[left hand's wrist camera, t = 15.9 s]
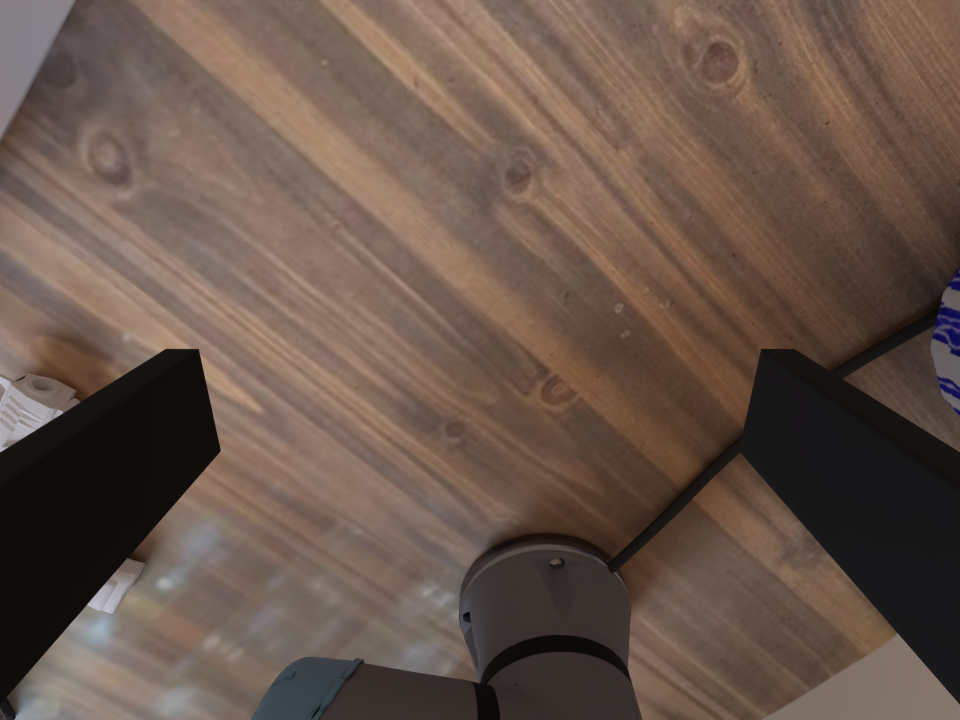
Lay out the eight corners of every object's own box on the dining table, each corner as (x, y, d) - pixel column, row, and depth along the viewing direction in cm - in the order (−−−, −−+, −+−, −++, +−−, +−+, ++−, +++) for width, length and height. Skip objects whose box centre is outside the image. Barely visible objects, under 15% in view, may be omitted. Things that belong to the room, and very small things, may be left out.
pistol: (196, 482, 39) (-18, 376, 35) (97, 636, 45) (-96, 561, 41) (217, 455, 42) (24, 355, 38) (122, 601, 48) (-54, 528, 44)
